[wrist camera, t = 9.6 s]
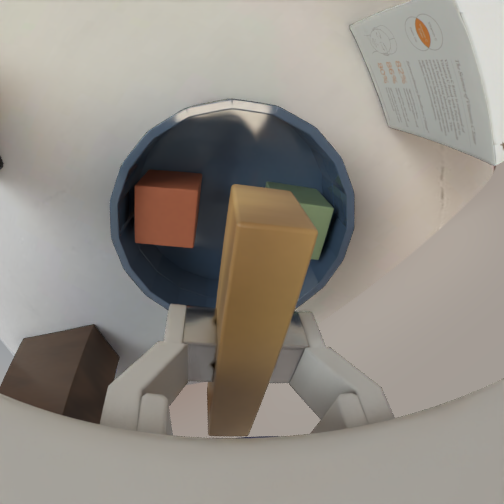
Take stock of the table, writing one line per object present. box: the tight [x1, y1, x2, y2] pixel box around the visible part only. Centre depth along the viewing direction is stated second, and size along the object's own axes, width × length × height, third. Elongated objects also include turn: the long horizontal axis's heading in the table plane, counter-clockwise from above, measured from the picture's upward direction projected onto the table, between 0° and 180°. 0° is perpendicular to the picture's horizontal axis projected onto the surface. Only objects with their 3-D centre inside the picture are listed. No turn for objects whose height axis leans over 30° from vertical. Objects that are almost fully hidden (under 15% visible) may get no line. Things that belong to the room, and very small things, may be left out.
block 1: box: [134, 170, 202, 248], centre depth 17 cm, size 4×4×4 cm
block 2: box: [265, 182, 334, 260], centre depth 18 cm, size 4×4×4 cm
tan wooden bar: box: [207, 184, 318, 436], centre depth 9 cm, size 2×9×2 cm, turn 171°
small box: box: [349, 0, 504, 166], centre depth 11 cm, size 8×6×10 cm
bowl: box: [110, 99, 354, 310], centre depth 17 cm, size 13×13×5 cm
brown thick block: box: [0, 325, 120, 424], centre depth 20 cm, size 5×12×13 cm, turn 105°
